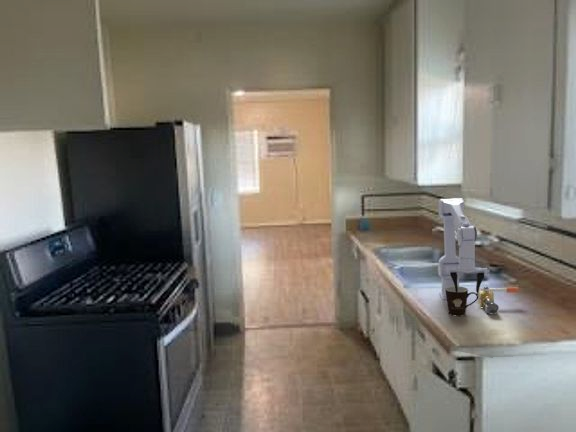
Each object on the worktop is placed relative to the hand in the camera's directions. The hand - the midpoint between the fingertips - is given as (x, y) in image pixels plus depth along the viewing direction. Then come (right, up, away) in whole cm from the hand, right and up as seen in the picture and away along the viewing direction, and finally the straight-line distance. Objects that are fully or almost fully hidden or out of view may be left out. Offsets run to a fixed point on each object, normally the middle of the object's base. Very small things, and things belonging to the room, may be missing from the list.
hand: (466, 291), depth 200 cm
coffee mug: (-1, -10, +4) cm, 11 cm away
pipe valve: (+12, -8, +11) cm, 18 cm away
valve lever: (+17, -2, +11) cm, 21 cm away
